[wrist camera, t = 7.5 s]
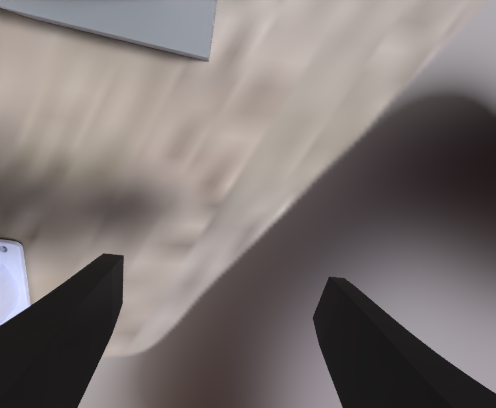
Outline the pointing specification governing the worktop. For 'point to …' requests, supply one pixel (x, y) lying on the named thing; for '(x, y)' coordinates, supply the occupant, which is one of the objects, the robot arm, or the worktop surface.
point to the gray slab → (132, 21)
